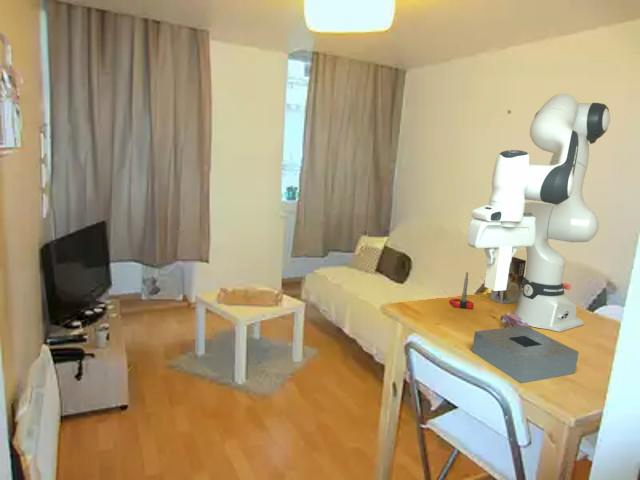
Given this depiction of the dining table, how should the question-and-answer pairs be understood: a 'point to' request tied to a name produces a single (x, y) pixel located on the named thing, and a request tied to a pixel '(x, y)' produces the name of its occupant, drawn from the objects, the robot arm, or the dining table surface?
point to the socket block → (525, 353)
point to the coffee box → (511, 283)
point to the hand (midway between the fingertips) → (498, 263)
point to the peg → (498, 269)
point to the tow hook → (463, 298)
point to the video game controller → (513, 320)
